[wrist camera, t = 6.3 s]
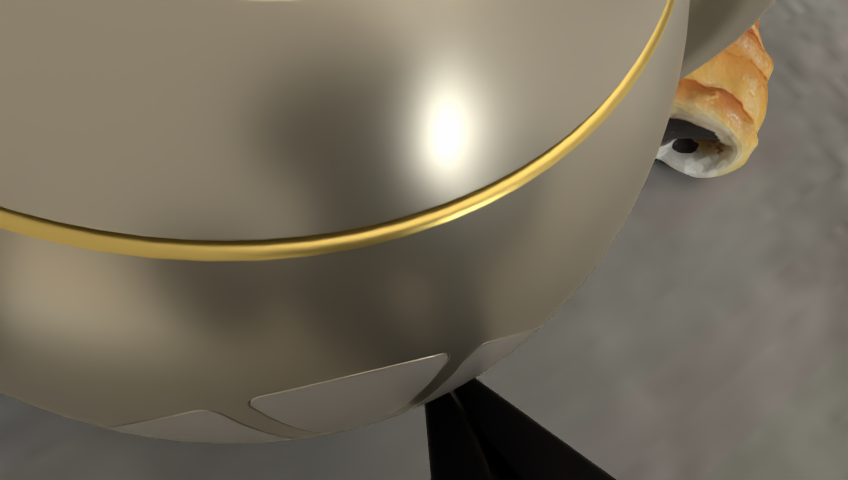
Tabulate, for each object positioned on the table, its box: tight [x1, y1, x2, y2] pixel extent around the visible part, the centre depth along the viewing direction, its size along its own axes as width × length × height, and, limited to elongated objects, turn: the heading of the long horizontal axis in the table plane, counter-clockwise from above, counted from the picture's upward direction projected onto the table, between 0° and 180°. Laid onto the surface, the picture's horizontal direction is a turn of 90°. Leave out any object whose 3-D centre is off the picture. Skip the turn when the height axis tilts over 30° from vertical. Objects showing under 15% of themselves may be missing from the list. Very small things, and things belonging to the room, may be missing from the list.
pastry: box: [655, 20, 773, 178], centre depth 19 cm, size 9×7×4 cm
